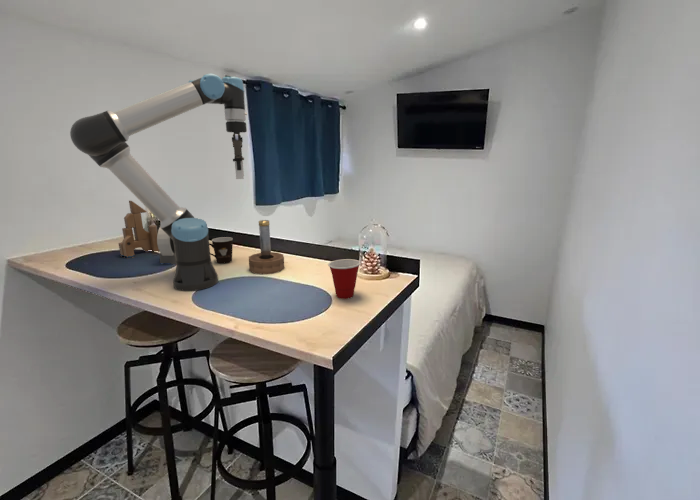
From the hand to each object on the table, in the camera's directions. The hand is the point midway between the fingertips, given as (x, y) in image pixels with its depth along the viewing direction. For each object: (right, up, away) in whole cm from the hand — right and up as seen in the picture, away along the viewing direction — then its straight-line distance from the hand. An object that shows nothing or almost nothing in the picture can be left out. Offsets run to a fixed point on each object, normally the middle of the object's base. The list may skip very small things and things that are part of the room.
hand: (240, 177), depth 146 cm
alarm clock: (-34, -33, +17) cm, 51 cm away
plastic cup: (+42, -45, -22) cm, 65 cm away
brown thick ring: (+9, -37, +6) cm, 38 cm away
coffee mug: (-13, -34, +15) cm, 39 cm away
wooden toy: (-54, -31, +26) cm, 68 cm away
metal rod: (+9, -37, +6) cm, 38 cm away
